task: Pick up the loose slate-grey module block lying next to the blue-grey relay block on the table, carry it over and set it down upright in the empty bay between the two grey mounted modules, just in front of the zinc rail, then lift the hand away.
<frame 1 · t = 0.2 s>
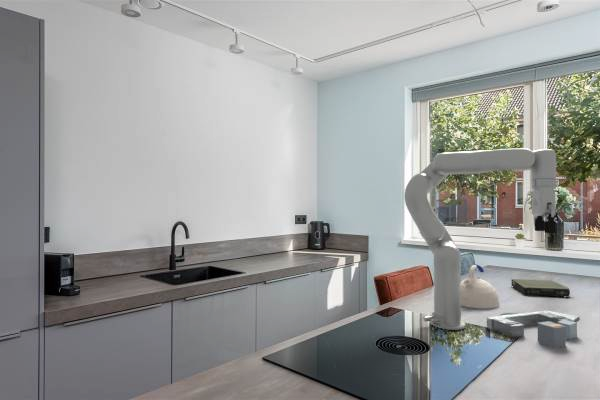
hand: (544, 231, 139), 37 cm above the counter, tool pointing down, fingers open, 9 cm apart
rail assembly: (530, 329, 144), on the counter
module block: (551, 344, 129), on the counter
relay block: (567, 336, 136), on the counter
network switch: (539, 293, 204), on the counter
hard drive: (558, 319, 159), on the counter
kettle: (475, 303, 182), on the counter
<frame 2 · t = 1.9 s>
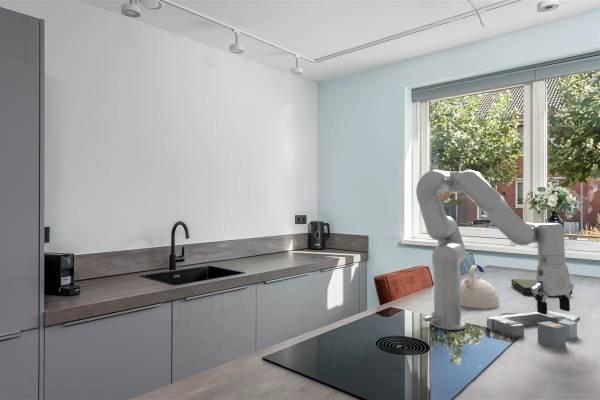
hand: (553, 311, 129), 11 cm above the counter, tool pointing down, fingers open, 9 cm apart
nothing on the counter moved.
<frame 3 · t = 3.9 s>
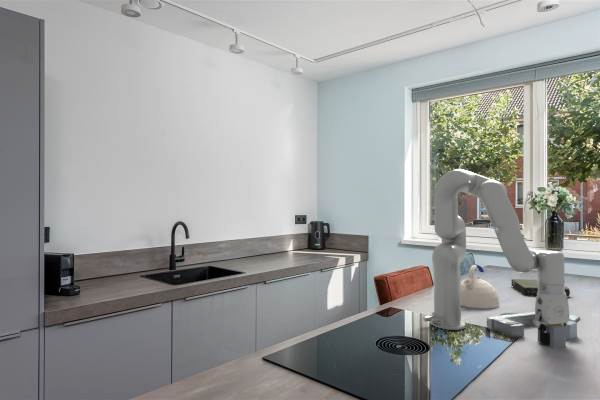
hand: (551, 342, 129), 0 cm above the counter, tool pointing down, fingers closed on module block, 5 cm apart
module block: (551, 344, 129), on the counter, touching gripper
everything else where it was.
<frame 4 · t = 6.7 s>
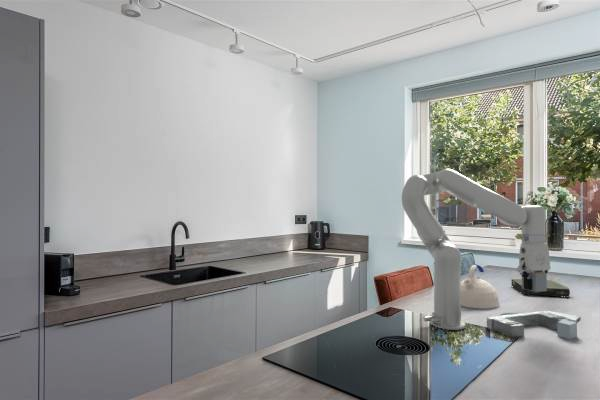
hand: (534, 288, 142), 16 cm above the counter, tool pointing down, fingers closed on module block, 5 cm apart
module block: (534, 289, 142), point 15 cm above the counter, touching gripper
everything else where it was.
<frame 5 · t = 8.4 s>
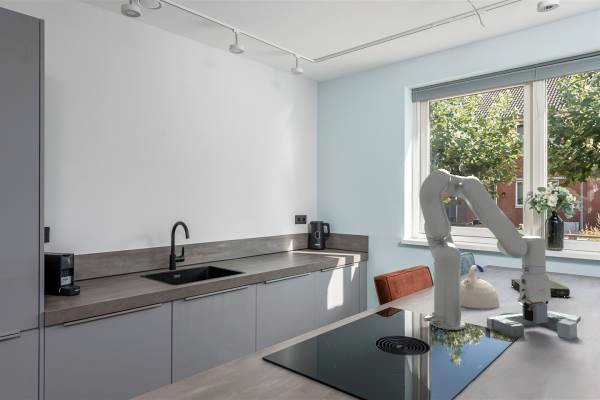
hand: (534, 319, 142), 4 cm above the counter, tool pointing down, fingers closed on module block, 5 cm apart
module block: (535, 320, 142), point 4 cm above the counter, touching gripper
everything else where it was.
when the fingers open (2 cm above the counter, at t = 9.8 s): module block drops 1 cm, on the counter.
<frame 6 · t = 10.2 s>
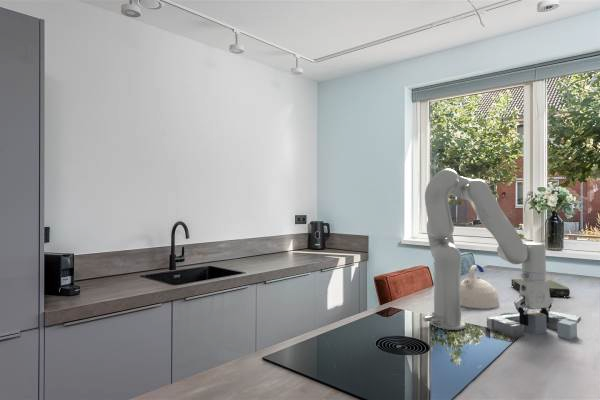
hand: (534, 323, 142), 3 cm above the counter, tool pointing down, fingers open, 9 cm apart
module block: (533, 331, 142), on the counter
everything else where it was.
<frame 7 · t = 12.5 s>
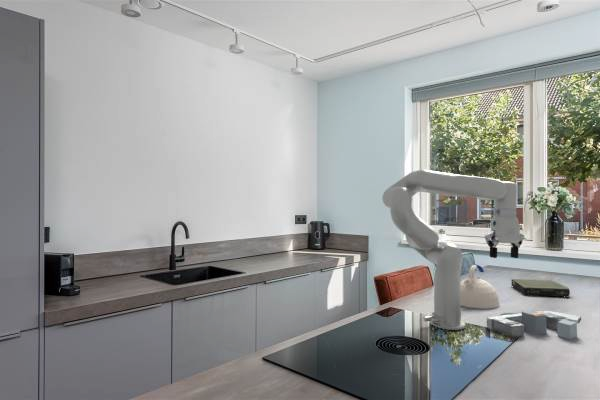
hand: (503, 257, 151), 26 cm above the counter, tool pointing down, fingers open, 9 cm apart
nothing on the counter moved.
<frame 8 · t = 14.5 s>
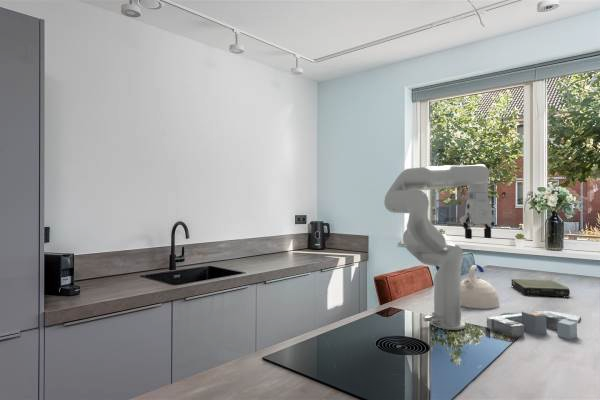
hand: (478, 238, 161), 32 cm above the counter, tool pointing down, fingers open, 9 cm apart
nothing on the counter moved.
at the end: module block inside the target area (0.1 cm from its centre), on the counter; module block tilted 0°; the gripper is holding nothing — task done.
